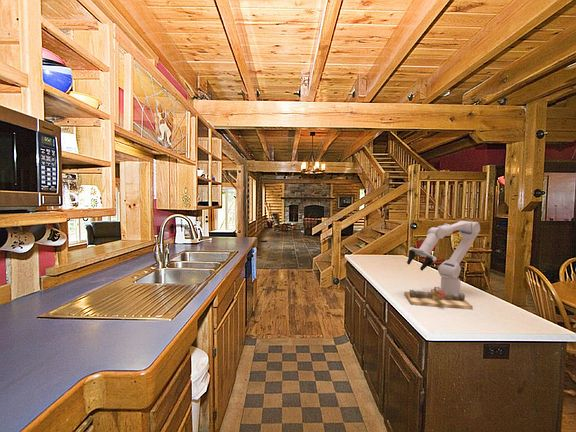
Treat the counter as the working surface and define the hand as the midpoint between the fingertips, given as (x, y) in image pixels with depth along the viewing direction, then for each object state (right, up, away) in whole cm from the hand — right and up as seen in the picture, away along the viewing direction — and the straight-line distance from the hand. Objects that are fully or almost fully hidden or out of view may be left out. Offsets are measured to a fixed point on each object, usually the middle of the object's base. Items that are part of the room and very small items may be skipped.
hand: (414, 266), depth 158 cm
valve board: (+9, -17, -4) cm, 20 cm away
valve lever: (+9, -12, -9) cm, 17 cm away
